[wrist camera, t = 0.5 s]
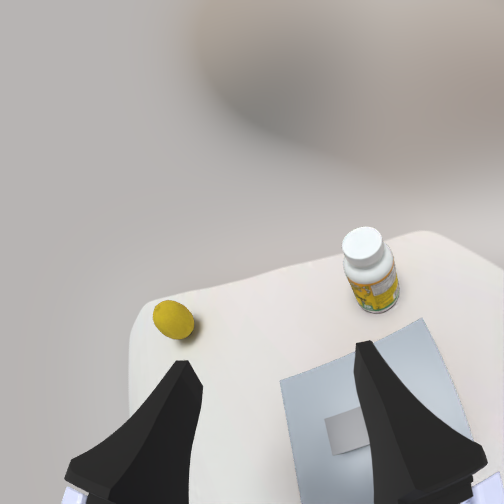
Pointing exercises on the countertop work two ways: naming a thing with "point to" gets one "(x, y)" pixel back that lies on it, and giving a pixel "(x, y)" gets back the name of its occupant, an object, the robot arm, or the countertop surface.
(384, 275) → the supplement bottle
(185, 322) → the lemon
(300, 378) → the lid
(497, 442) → the countertop surface
